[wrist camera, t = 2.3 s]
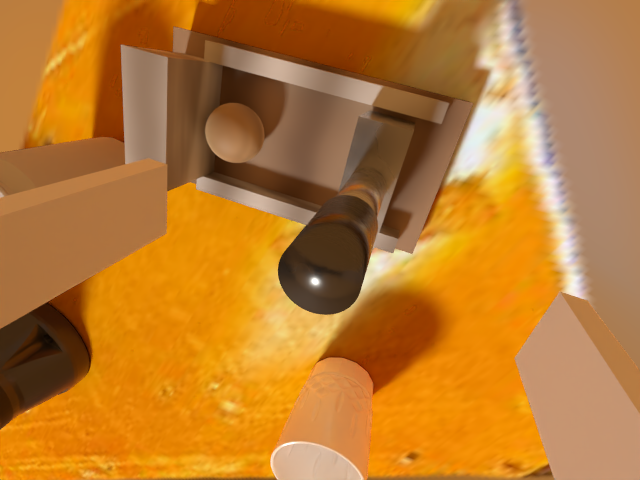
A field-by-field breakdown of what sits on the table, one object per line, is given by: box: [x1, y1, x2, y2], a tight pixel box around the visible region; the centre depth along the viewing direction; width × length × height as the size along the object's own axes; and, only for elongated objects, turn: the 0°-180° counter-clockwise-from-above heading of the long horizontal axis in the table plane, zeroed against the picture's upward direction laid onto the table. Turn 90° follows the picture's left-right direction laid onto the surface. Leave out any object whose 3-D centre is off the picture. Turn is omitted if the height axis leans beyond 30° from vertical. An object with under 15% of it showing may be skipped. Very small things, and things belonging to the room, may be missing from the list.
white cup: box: [271, 357, 374, 480], centre depth 32 cm, size 8×8×10 cm
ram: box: [278, 110, 415, 315], centre depth 17 cm, size 3×7×16 cm, turn 167°
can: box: [0, 137, 125, 197], centre depth 27 cm, size 8×8×12 cm
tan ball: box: [205, 103, 265, 163], centre depth 24 cm, size 4×4×4 cm
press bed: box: [121, 27, 473, 254], centre depth 23 cm, size 21×11×8 cm, turn 77°
